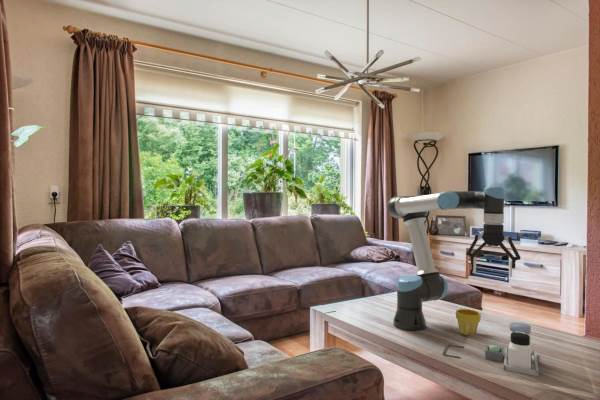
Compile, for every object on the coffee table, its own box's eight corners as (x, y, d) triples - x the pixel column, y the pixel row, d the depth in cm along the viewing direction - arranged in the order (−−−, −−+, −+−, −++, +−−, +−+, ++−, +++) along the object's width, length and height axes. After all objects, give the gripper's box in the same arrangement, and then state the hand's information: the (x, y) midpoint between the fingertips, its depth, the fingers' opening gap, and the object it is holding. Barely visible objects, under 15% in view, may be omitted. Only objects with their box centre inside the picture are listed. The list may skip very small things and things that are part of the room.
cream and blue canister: (509, 358, 148) (508, 326, 148) (511, 351, 154) (510, 321, 154) (530, 362, 145) (530, 329, 145) (531, 355, 150) (531, 324, 150)
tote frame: (442, 355, 154) (442, 354, 154) (447, 344, 166) (447, 343, 166) (477, 361, 148) (477, 360, 148) (479, 350, 159) (479, 349, 159)
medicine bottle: (531, 372, 136) (531, 338, 136) (508, 368, 140) (508, 334, 139) (531, 365, 142) (531, 332, 142) (509, 361, 146) (509, 328, 146)
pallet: (483, 370, 141) (483, 358, 141) (487, 349, 160) (487, 338, 160) (542, 381, 132) (542, 369, 132) (539, 357, 152) (539, 346, 152)
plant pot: (480, 331, 181) (480, 310, 181) (480, 338, 172) (480, 316, 172) (456, 328, 186) (456, 307, 186) (455, 335, 176) (455, 313, 176)
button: (488, 355, 149) (488, 347, 149) (489, 351, 152) (489, 344, 152) (499, 356, 147) (499, 348, 147) (499, 353, 150) (499, 345, 150)
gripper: (460, 222, 167) (459, 272, 167) (528, 226, 154) (526, 279, 155) (462, 221, 173) (461, 269, 174) (528, 224, 161) (526, 276, 161)
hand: (492, 274), depth 164 cm, fingers open, 13 cm apart
